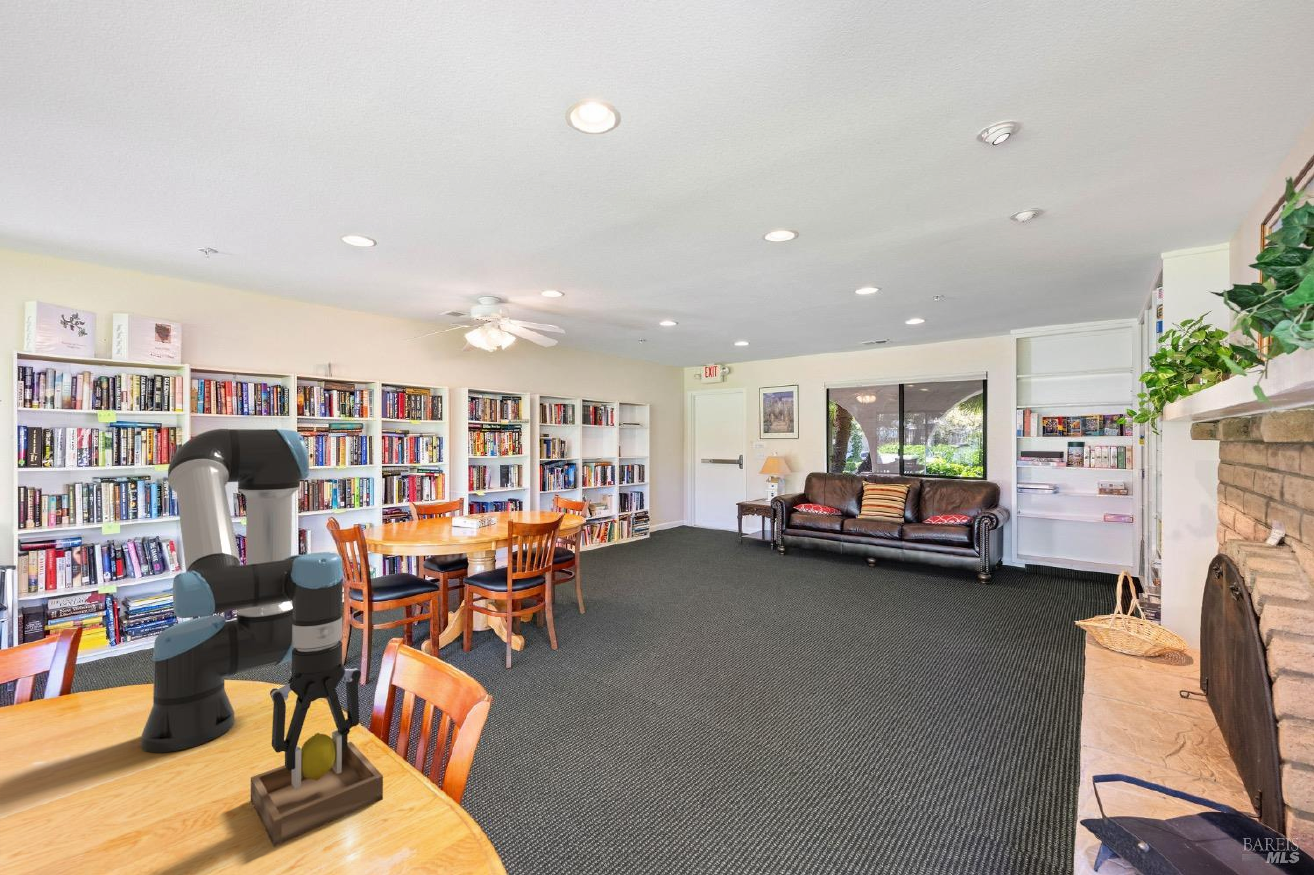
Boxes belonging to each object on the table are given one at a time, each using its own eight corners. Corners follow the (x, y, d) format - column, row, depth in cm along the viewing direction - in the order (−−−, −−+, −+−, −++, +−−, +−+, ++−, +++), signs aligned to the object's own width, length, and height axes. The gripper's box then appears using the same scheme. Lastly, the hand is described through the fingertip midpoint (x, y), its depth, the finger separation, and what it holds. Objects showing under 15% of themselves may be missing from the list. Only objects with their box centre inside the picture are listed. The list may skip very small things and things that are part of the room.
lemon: (318, 791, 94) (318, 743, 94) (290, 787, 95) (290, 740, 95) (343, 772, 100) (343, 727, 100) (316, 768, 101) (316, 724, 101)
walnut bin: (250, 800, 97) (250, 777, 97) (350, 762, 109) (351, 741, 109) (273, 846, 86) (274, 820, 86) (382, 798, 98) (382, 775, 98)
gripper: (258, 665, 88) (257, 813, 88) (381, 635, 102) (381, 764, 102) (247, 652, 93) (247, 792, 93) (366, 626, 107) (365, 748, 107)
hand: (316, 777), depth 97 cm, fingers closed on lemon, 5 cm apart
